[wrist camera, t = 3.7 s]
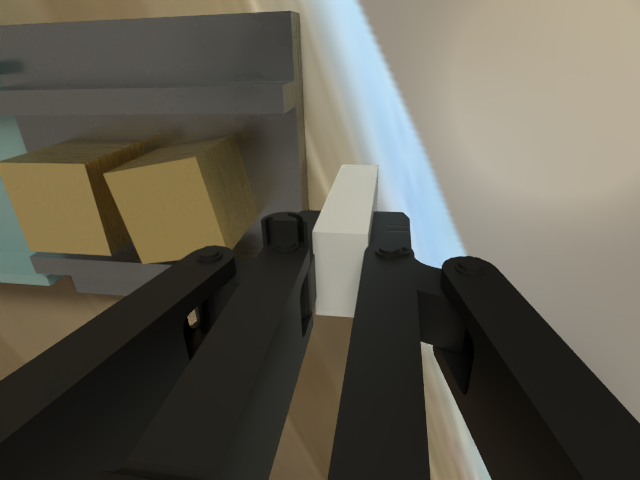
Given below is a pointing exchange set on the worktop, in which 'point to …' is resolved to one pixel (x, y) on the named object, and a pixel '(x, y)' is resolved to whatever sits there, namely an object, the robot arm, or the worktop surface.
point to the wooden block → (69, 196)
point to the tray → (15, 219)
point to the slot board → (163, 108)
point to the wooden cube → (184, 198)
